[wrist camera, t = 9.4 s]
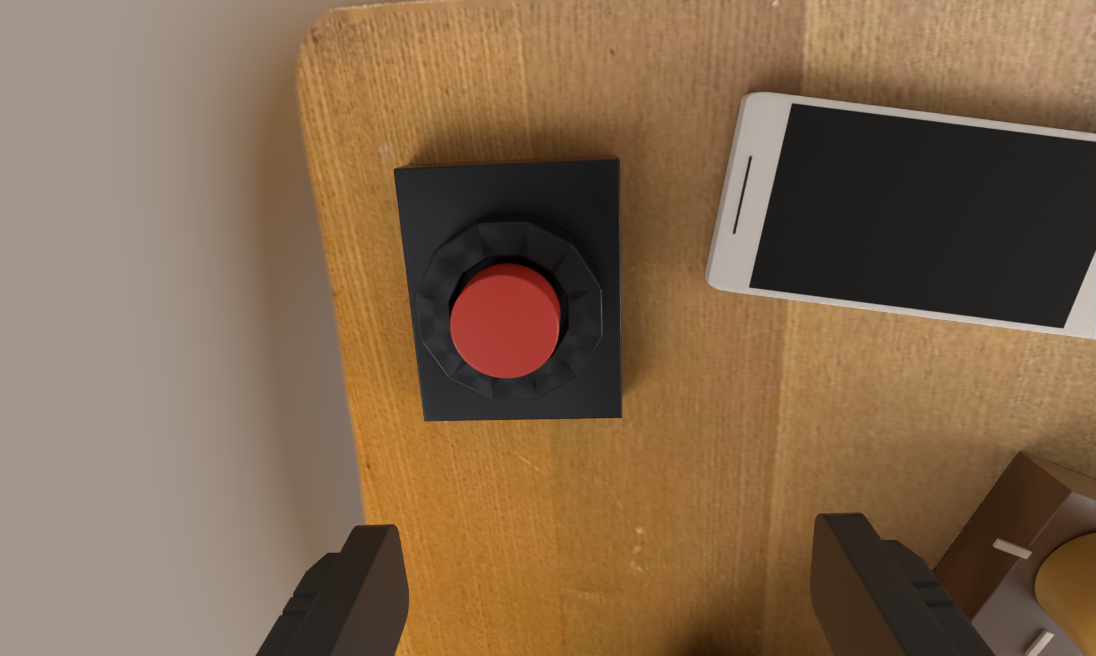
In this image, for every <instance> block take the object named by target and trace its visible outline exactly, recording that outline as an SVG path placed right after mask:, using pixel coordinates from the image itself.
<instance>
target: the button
mask: <svg viewBox="0 0 1096 656" xmlns="http://www.w3.org/2000/svg"><path fill="white" fill-rule="evenodd" d="M560 316H561V310H560V303H559V299H558V297H557V294H556V292H555V290H554V288H553V287H552V285H551V284H550V283H549V281H548V280H547V279H546V278H545V277H544V276H542V275H541V274H540V273H538V272H537V271H535V270H533V269H531V268H529V267H527V266H524V265H520V264H514V263H502V264H496V265H492V266H490V267H487V268H485V269H483V270H481V271H480V272H478V273H477V274H476V275H475V276H474V277H473V278H472V279H471V280H470V281H469V282H468V283H467V285H466V286H465V288H464V289H463V291H462V292H461V294H460V295H459V297H458V298H457V300H456V302H455V304H454V306H453V309H452V313H451V318H450V331H451V336H452V340H453V343H454V345H455V347H456V349H457V351H458V352H459V354H460V355H461V356H462V358H463V359H464V360H465V361H466V362H467V363H468V364H469V365H471V366H472V367H473V368H475V369H476V370H478V371H480V372H482V373H484V374H486V375H490V376H493V377H498V378H515V377H520V376H523V375H526V374H529V373H531V372H533V371H535V370H536V369H538V368H539V367H541V366H542V365H543V364H544V363H545V362H546V361H547V360H548V358H549V357H550V356H551V354H552V353H553V351H554V349H555V346H556V343H557V340H558V335H559V326H560Z"/></svg>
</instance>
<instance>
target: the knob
mask: <svg viewBox="0 0 1096 656" xmlns="http://www.w3.org/2000/svg"><path fill="white" fill-rule="evenodd" d="M1035 594H1036V598H1037V600H1038V602H1039V604H1040V606H1041V607H1042V609H1043V610H1044V611H1045V612H1046V613H1047V614H1048V615H1049V616H1050V617H1051V618H1052V619H1053V621H1054V622H1055V623H1056V624H1057V625H1058V626H1059V627H1060V628H1061V629H1062V630H1063V631H1064V633H1065V634H1066V635H1067V636H1068V637H1069V638H1070V639H1071V640H1072V641H1073V642H1074V643H1075V644H1076V646H1077V647H1078V648H1079V649H1080V650H1081V651H1082V652H1083V653H1084V654H1085V655H1086V656H1096V533H1091V534H1086V535H1083V536H1080V537H1077V538H1075V539H1072V540H1070V541H1068V542H1067V543H1065V544H1063V545H1062V546H1060V547H1059V548H1057V549H1056V550H1055V551H1054V552H1052V553H1051V554H1050V555H1049V556H1048V557H1047V558H1046V560H1045V561H1044V562H1043V564H1042V565H1041V567H1040V569H1039V571H1038V573H1037V575H1036V579H1035Z"/></svg>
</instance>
